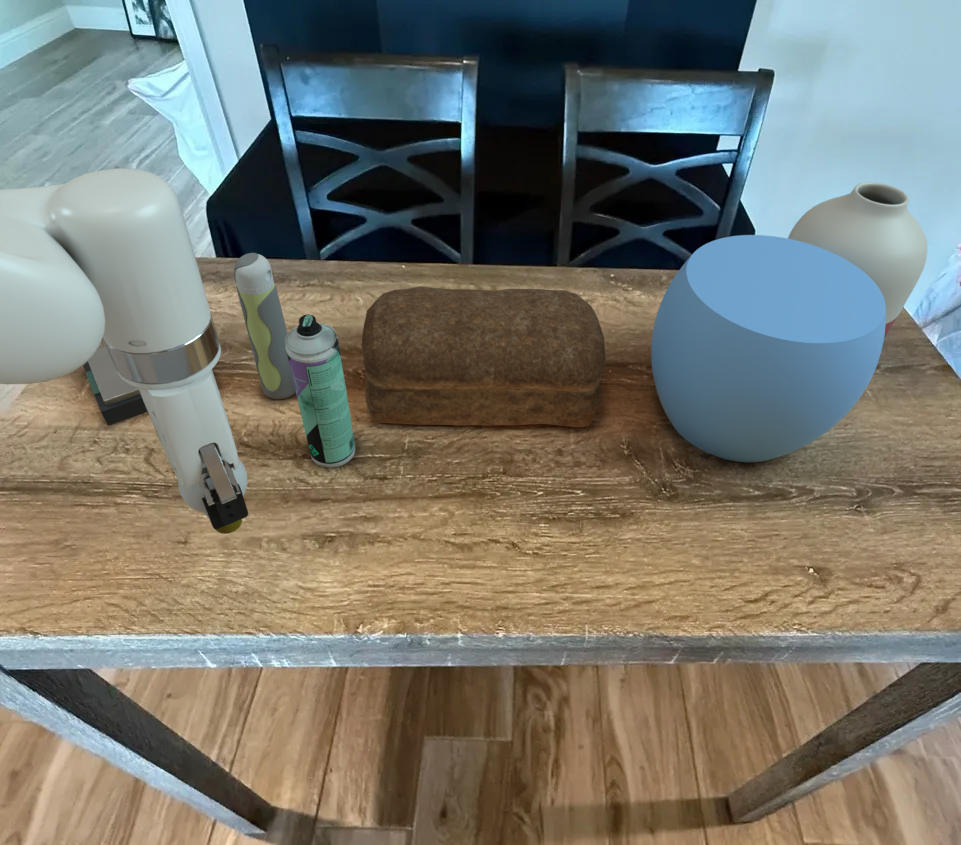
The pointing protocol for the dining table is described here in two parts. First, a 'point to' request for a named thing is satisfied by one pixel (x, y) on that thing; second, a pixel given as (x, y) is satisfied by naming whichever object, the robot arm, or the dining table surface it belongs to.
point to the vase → (871, 239)
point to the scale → (112, 389)
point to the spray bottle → (264, 324)
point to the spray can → (321, 391)
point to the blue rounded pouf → (764, 345)
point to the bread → (482, 357)
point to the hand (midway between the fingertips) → (218, 495)
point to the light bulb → (196, 494)
